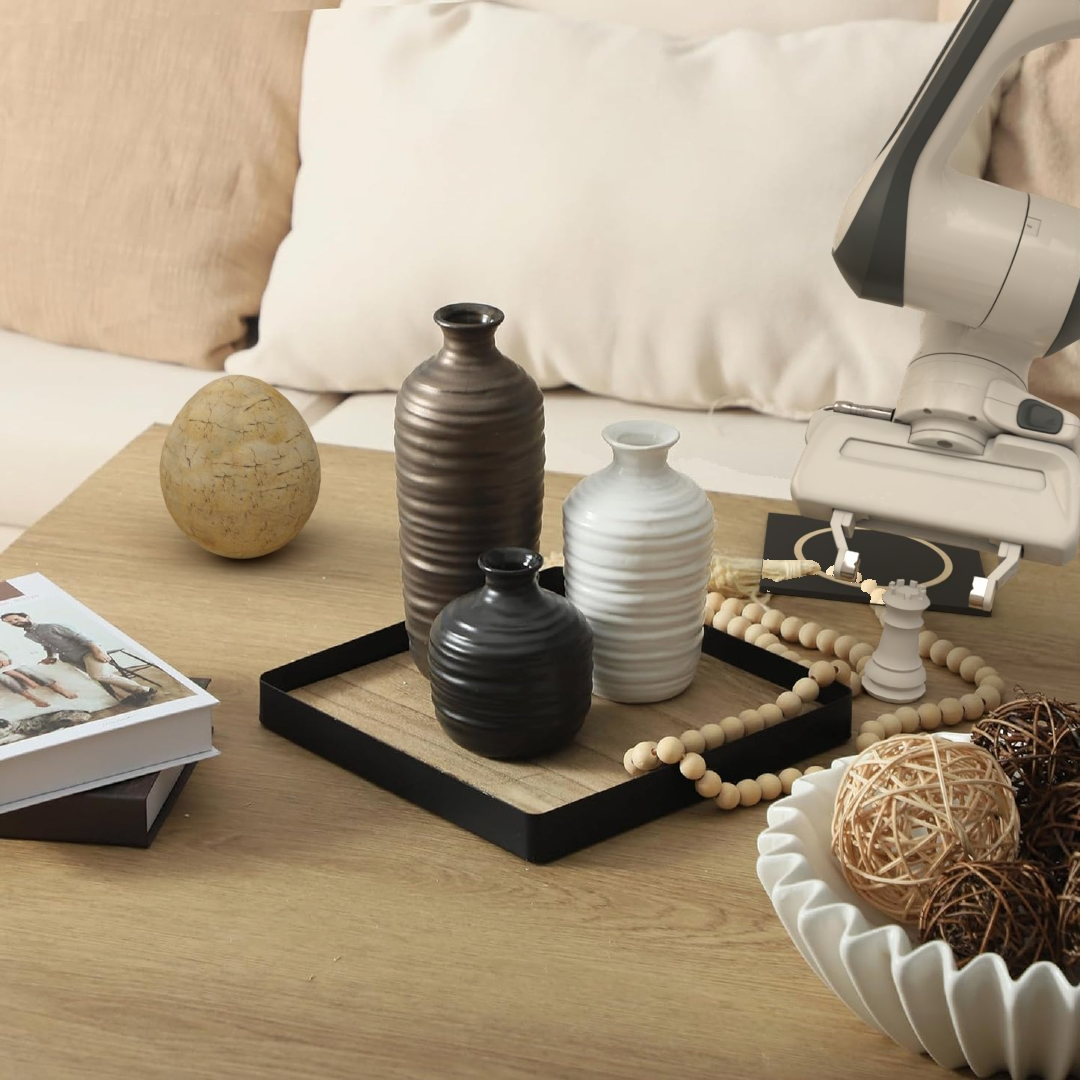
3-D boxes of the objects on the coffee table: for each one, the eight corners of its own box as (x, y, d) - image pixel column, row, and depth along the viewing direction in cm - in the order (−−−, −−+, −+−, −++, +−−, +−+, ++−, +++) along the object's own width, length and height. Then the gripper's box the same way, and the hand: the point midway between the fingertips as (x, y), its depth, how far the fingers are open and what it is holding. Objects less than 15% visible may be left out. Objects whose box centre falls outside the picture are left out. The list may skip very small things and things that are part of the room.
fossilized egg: (242, 511, 130) (233, 345, 124) (354, 546, 123) (351, 373, 117) (132, 558, 120) (117, 380, 114) (248, 598, 113) (239, 412, 107)
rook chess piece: (883, 668, 106) (897, 567, 103) (937, 691, 103) (953, 588, 100) (847, 688, 103) (861, 585, 100) (902, 712, 100) (918, 607, 97)
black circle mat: (974, 538, 129) (975, 531, 129) (991, 617, 115) (992, 608, 115) (767, 518, 132) (768, 510, 132) (759, 592, 118) (759, 583, 117)
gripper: (812, 376, 108) (760, 544, 104) (1104, 422, 101) (1062, 606, 96) (821, 417, 114) (772, 578, 109) (1098, 464, 106) (1058, 639, 102)
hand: (910, 592), depth 103 cm, fingers open, 8 cm apart
